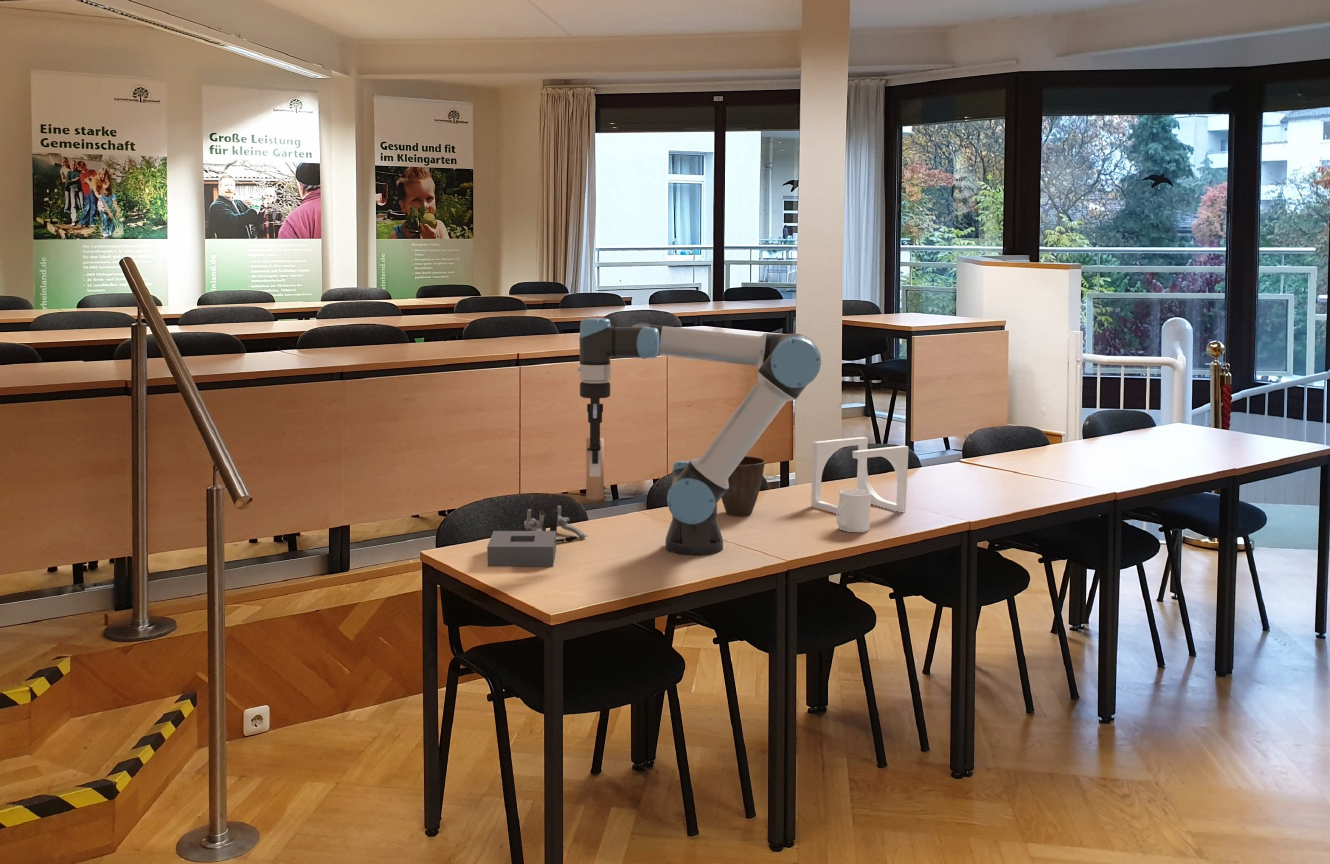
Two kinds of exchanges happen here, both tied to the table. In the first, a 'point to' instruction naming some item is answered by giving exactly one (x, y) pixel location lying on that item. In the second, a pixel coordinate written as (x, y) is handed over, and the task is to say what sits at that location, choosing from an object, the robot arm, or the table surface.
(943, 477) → the table surface
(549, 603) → the table surface
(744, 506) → the plant pot
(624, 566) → the table surface
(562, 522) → the bike brake
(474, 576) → the table surface
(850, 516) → the mug
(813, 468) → the white piece
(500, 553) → the socket block
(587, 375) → the robot arm
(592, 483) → the peg
